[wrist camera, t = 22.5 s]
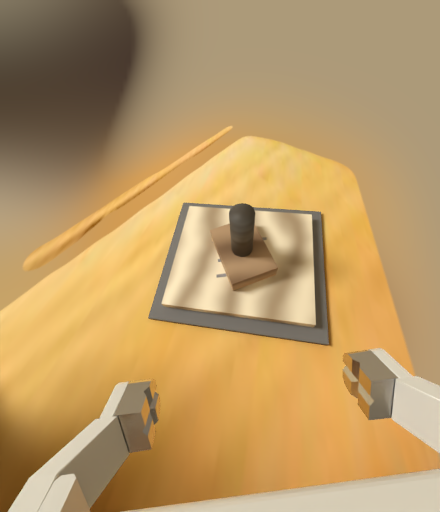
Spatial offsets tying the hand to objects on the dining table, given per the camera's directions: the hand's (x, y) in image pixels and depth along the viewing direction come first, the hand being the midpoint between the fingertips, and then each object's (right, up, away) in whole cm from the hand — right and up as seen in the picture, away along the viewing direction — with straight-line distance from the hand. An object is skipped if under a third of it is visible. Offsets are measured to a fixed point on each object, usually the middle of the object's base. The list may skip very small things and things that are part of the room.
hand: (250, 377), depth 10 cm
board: (+2, +5, +29) cm, 29 cm away
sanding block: (+2, +5, +27) cm, 28 cm away
